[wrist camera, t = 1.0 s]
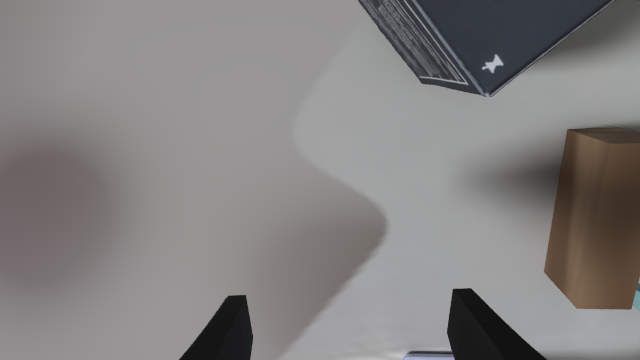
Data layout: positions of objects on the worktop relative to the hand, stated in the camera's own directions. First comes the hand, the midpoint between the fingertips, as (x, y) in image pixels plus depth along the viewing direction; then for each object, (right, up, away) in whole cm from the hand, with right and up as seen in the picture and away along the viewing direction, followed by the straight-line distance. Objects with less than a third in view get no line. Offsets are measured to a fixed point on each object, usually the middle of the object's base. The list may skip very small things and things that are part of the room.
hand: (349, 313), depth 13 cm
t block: (+18, +3, +11) cm, 22 cm away
